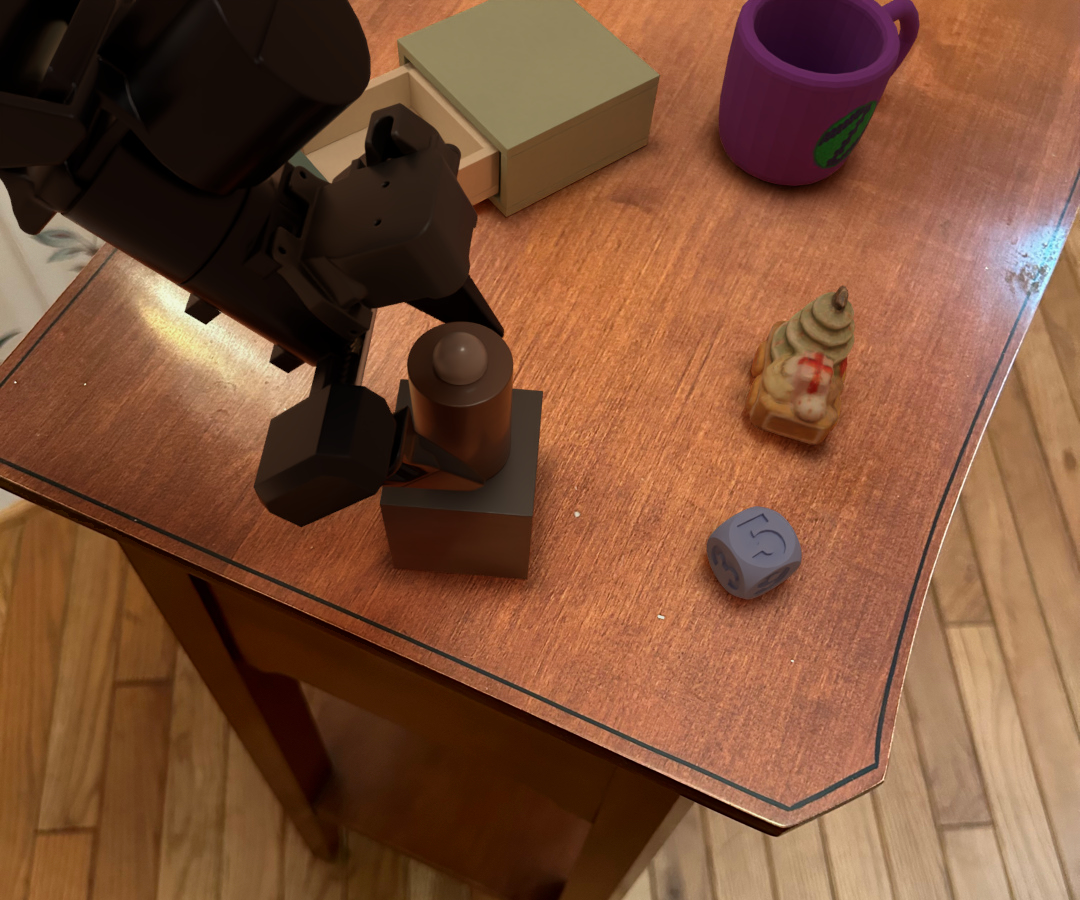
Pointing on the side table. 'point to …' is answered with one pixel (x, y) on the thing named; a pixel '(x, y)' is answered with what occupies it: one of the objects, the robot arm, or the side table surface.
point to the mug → (808, 82)
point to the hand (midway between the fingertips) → (489, 408)
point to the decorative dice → (753, 552)
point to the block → (471, 509)
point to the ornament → (803, 370)
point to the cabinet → (538, 90)
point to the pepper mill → (463, 393)
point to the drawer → (425, 100)
